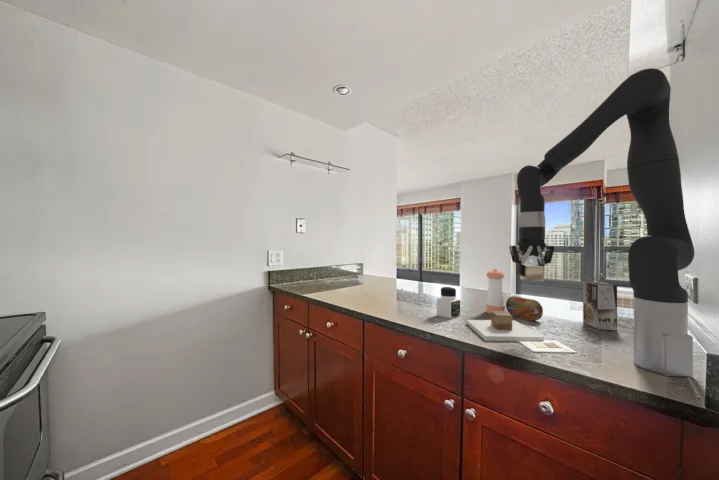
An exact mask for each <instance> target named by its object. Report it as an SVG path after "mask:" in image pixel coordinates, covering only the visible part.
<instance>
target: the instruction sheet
mask: <svg viewBox="0 0 719 480" xmlns="http://www.w3.org/2000/svg"><path fill="white" fill-rule="evenodd" d="M517 343H519V344H521V345H522V346H524V347H525V348H526V349H527V350H529V351H531V352H532V353H544V352H545V353H549V354H550V353H551V354H552V353H556V354H557V353H558V354H559V353H560V354H561V353H563V354H577V353H578V352H577V351H576V350H574V349H572V348H570V347H569V346H567V345H565V344H563V343H561V342H560V341H558V340H552V339H550V340H549V339H548V340H546V339H544V341H521V340H518V341H517Z"/></svg>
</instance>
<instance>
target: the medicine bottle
mask: <svg viewBox="0 0 719 480" xmlns="http://www.w3.org/2000/svg"><path fill="white" fill-rule="evenodd" d="M456 289H457V288H455V287H452V286H451V287H450V286H443V287H441V288H440V297H439V298H436V316H437V317H441V318H446V319H451V320H453V319H455V318H458V317H461V299H460V298H457V290H456Z"/></svg>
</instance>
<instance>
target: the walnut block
mask: <svg viewBox="0 0 719 480" xmlns="http://www.w3.org/2000/svg"><path fill="white" fill-rule="evenodd" d="M490 320H491V326H493V327H494V328H495V329H497V330H512V320H513V316H512V315H511V314H509V312H508V311H506V310H505V311H491V314H490Z"/></svg>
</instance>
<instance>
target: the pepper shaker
mask: <svg viewBox="0 0 719 480" xmlns="http://www.w3.org/2000/svg"><path fill="white" fill-rule="evenodd" d="M486 277H487V278H488V285H487V286H488V289H487V295H486V301H487V303H485V304H486V305H485V306H486V307H485V308H486V309H485V310H486V311H485V312H486V313H488V314H489V315H491V311H505V312H506V310H505V309H506V305H505V304H504V303H505V300H504V299H505V296H504V289H503V279H504V278H505V274H504V272H502V271H501V270H500V271H499V270H498V269H497V268H493V270H490V271H488V272H487V273H486Z"/></svg>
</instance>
